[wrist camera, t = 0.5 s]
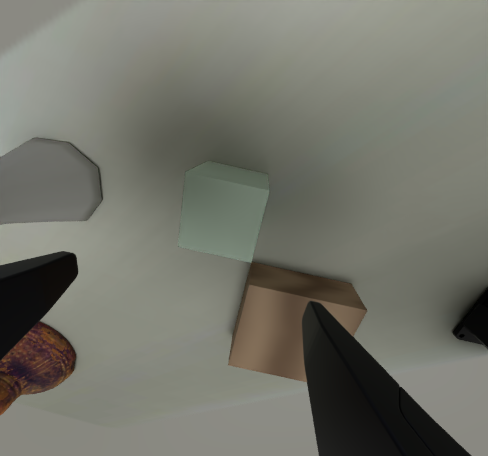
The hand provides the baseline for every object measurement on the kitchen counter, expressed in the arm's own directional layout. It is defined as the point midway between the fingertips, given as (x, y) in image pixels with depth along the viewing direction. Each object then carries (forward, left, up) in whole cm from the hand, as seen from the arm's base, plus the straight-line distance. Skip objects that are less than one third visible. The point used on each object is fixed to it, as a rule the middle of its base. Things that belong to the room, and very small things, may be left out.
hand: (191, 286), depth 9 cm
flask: (+15, +2, -12) cm, 19 cm away
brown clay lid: (+22, +26, -12) cm, 36 cm away
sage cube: (0, 0, -12) cm, 12 cm away
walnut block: (-8, +11, -12) cm, 18 cm away
